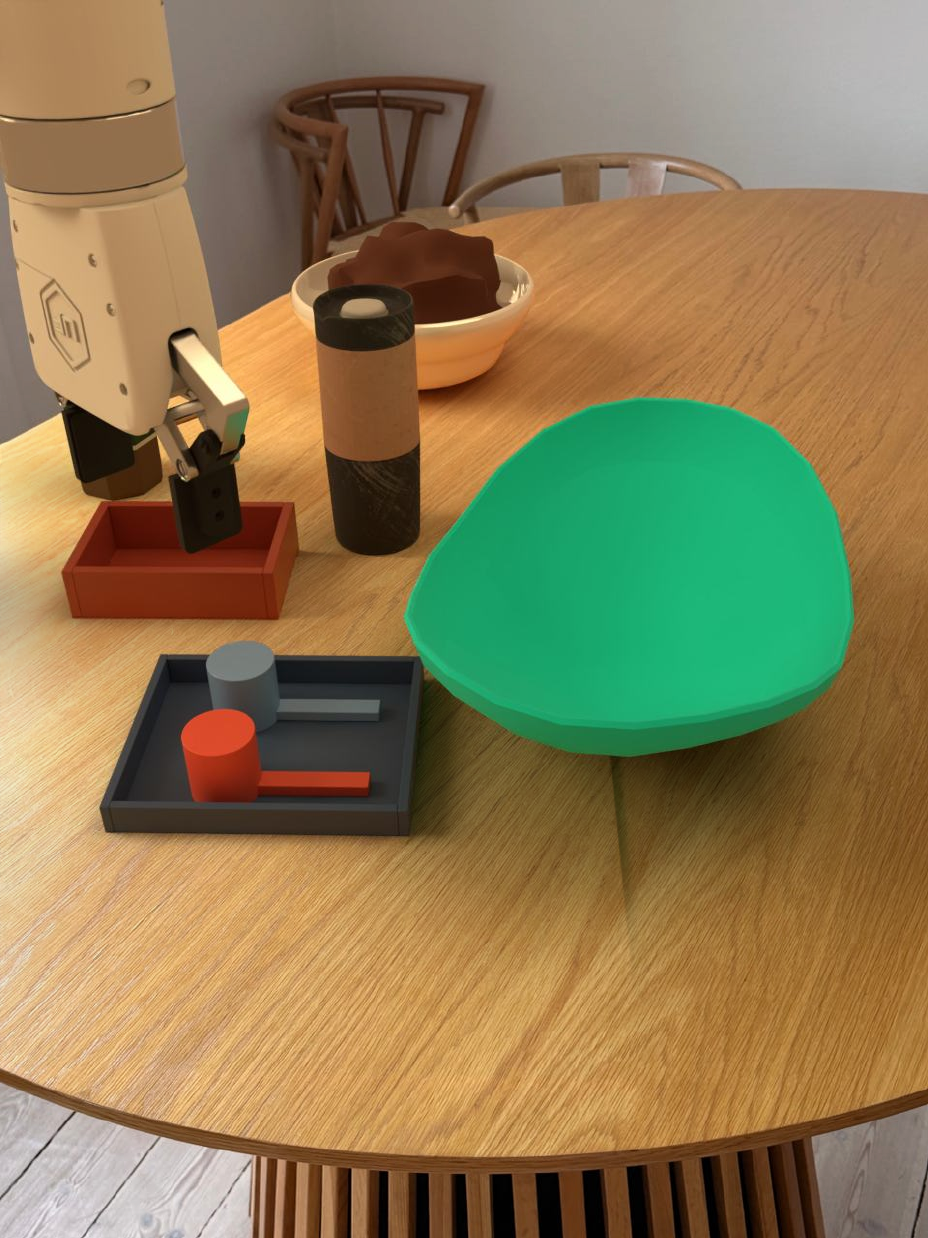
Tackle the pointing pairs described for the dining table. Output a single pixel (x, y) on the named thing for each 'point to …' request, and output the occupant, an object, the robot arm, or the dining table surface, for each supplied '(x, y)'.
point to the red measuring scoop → (249, 764)
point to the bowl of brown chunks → (434, 295)
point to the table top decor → (640, 583)
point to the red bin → (180, 565)
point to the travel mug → (370, 415)
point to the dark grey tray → (276, 752)
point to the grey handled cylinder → (271, 690)
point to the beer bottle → (131, 471)
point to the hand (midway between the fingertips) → (157, 505)
